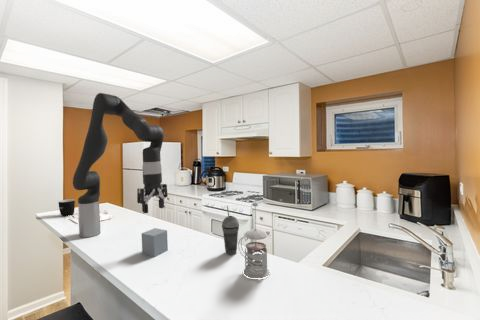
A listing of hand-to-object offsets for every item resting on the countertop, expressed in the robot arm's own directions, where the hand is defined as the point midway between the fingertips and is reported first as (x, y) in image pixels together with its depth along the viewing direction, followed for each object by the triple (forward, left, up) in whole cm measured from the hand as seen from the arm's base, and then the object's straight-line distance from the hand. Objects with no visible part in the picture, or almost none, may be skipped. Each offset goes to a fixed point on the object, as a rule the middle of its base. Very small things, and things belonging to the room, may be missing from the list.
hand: (153, 210), depth 102 cm
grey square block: (0, 0, -18) cm, 18 cm away
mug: (-100, +17, -18) cm, 103 cm away
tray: (-80, +20, -19) cm, 85 cm away
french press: (+45, +3, -18) cm, 49 cm away
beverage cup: (+30, +13, -18) cm, 37 cm away
